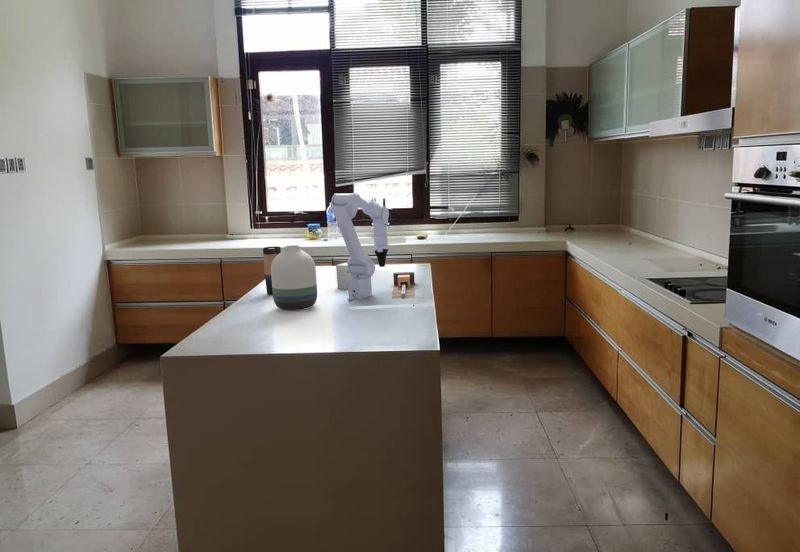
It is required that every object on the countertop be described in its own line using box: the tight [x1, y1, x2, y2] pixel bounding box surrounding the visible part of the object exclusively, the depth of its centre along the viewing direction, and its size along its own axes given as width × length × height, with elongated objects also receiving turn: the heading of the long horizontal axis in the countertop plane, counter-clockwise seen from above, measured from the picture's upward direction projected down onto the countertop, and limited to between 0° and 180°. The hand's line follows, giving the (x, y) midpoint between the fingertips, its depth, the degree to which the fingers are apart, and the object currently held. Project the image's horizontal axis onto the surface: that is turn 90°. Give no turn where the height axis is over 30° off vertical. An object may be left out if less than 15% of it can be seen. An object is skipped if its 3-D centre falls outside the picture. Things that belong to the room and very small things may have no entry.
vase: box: [271, 244, 318, 311], centre depth 246 cm, size 17×17×24 cm
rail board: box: [391, 271, 416, 300], centre depth 267 cm, size 32×9×6 cm, turn 179°
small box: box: [335, 262, 353, 290], centre depth 285 cm, size 8×6×10 cm
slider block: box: [398, 275, 410, 288], centre depth 275 cm, size 6×5×4 cm
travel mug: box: [262, 246, 282, 296], centre depth 278 cm, size 8×8×20 cm
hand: (382, 266), depth 272 cm, fingers closed
